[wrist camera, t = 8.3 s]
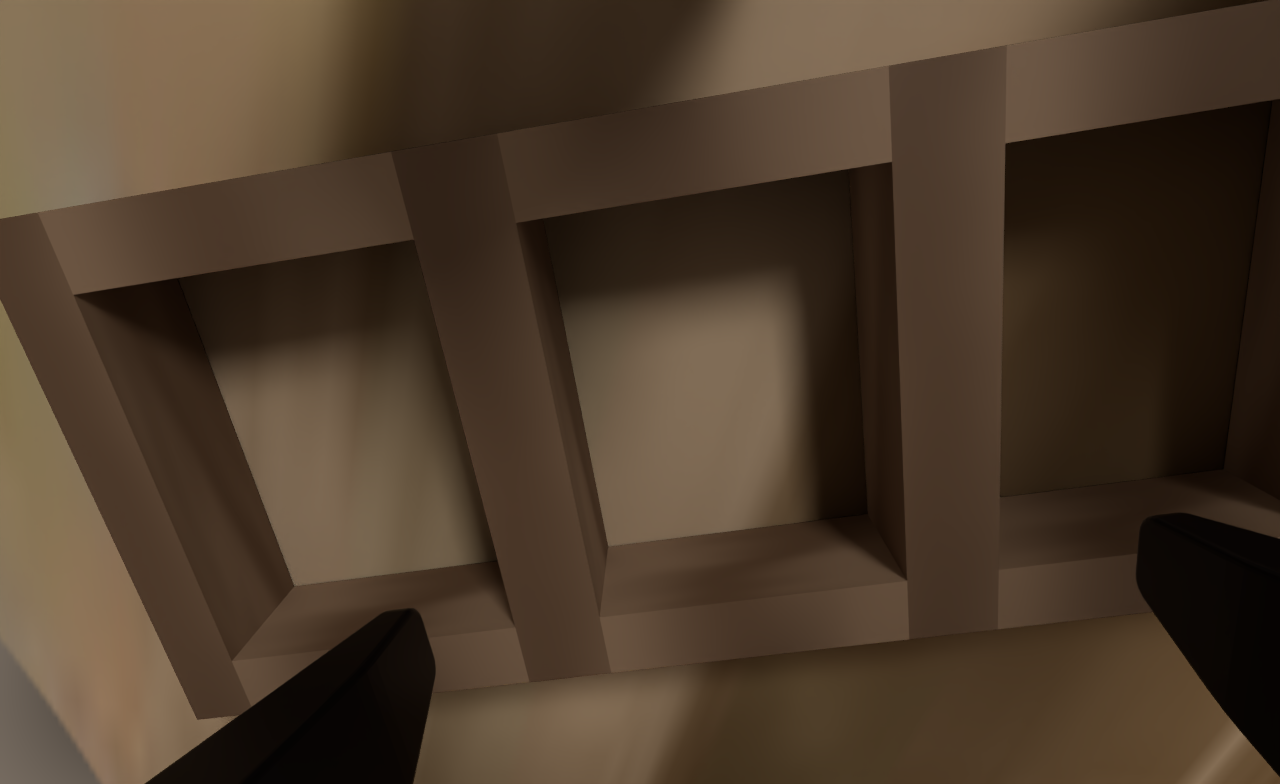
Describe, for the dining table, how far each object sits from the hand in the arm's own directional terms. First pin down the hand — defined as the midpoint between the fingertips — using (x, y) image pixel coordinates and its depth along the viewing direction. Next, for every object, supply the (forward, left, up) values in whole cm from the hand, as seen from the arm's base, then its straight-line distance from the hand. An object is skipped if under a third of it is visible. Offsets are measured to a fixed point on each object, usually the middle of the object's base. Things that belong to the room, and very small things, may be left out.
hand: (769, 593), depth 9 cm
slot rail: (0, 0, -9) cm, 9 cm away
